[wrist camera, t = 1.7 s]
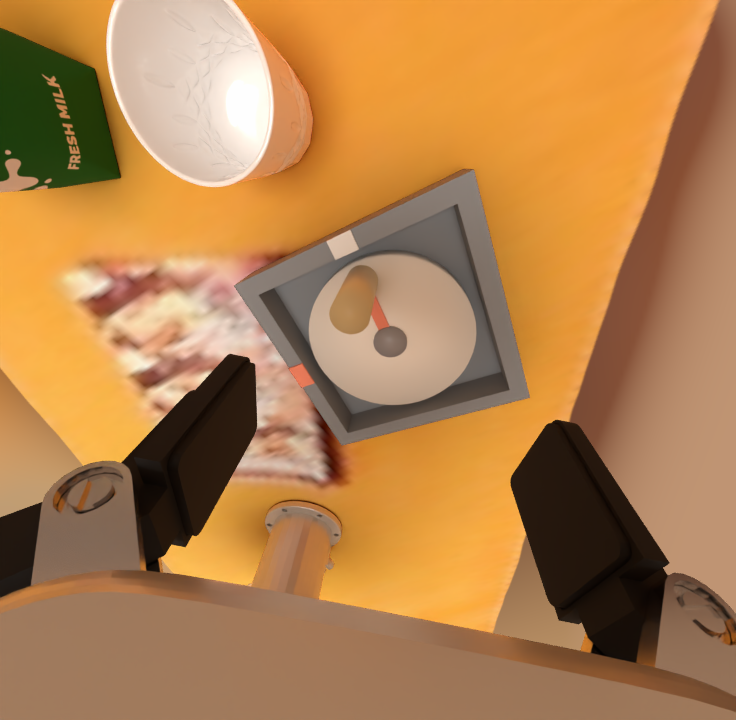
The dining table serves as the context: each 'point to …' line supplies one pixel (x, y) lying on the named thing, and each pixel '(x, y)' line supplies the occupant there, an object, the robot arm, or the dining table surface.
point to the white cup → (206, 90)
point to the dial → (392, 328)
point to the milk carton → (50, 120)
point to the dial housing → (412, 234)
